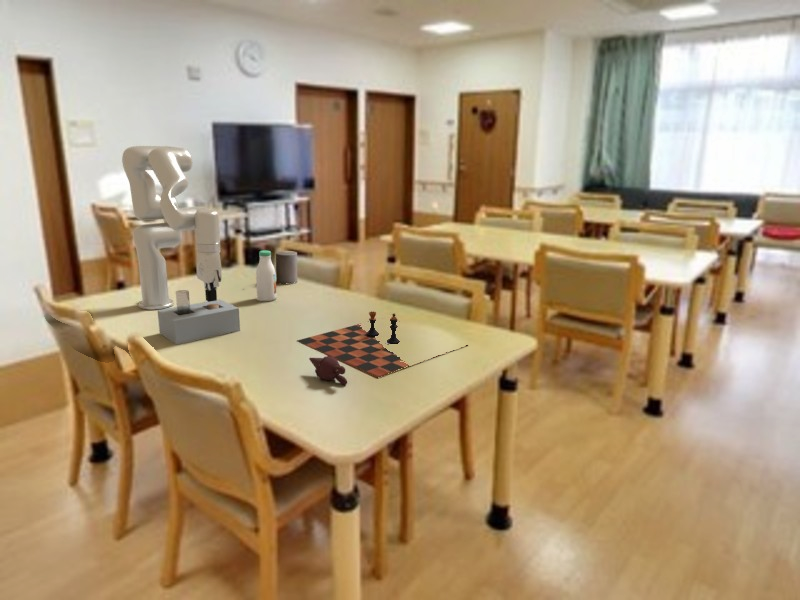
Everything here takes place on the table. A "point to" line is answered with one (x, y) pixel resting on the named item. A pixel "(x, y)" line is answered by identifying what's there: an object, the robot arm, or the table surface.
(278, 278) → the pillar candle
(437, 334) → the table surface
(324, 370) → the brown knobby figurine
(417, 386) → the table surface
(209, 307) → the brown rounded cylinder
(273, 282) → the milk bottle
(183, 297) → the steel peg
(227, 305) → the socket board
